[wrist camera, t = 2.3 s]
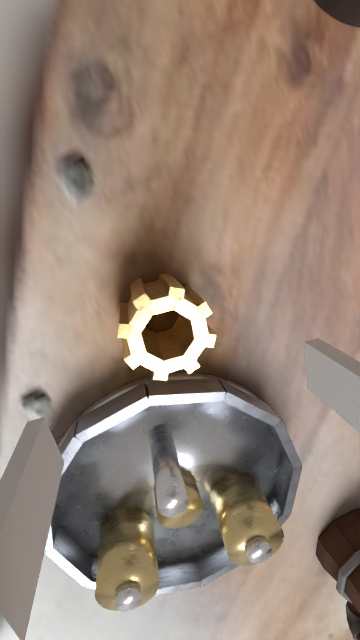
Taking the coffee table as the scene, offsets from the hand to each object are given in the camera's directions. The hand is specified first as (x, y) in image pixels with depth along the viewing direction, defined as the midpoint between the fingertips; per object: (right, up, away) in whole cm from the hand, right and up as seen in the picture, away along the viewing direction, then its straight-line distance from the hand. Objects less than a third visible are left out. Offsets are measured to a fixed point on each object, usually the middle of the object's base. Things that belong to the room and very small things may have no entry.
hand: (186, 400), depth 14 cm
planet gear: (-2, +5, +13) cm, 14 cm away
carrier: (-1, -14, +20) cm, 24 cm away
